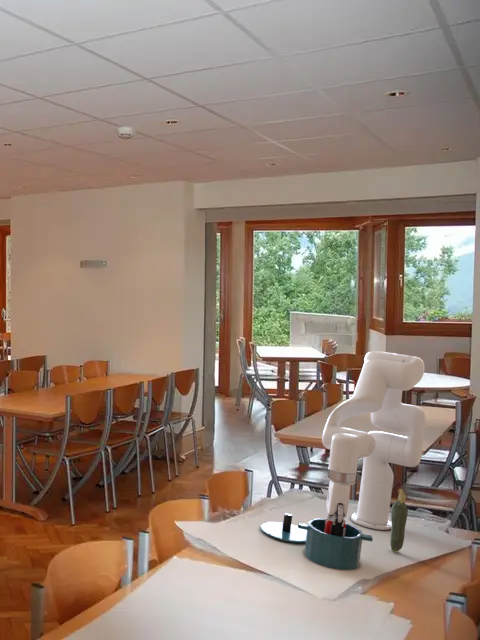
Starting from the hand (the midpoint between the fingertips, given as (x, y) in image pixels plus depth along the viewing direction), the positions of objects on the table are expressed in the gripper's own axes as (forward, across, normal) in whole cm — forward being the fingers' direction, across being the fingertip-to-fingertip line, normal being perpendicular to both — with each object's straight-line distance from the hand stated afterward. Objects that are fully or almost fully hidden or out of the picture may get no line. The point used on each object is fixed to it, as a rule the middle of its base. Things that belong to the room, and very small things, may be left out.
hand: (334, 532), depth 220 cm
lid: (+7, -14, -12) cm, 20 cm away
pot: (+8, 0, 0) cm, 8 cm away
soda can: (+8, 0, 0) cm, 8 cm away
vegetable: (+8, -15, +19) cm, 26 cm away
